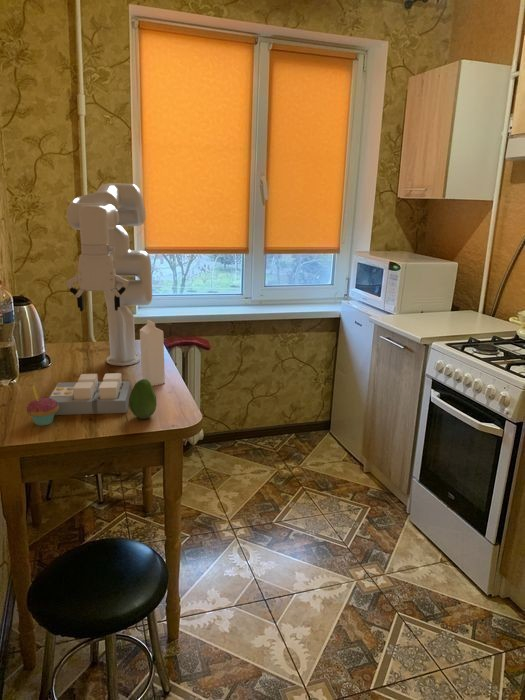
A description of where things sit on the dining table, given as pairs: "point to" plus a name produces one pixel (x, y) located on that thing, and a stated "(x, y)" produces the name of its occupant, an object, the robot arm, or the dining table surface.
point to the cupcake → (42, 409)
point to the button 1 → (89, 379)
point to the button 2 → (83, 391)
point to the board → (94, 406)
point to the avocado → (142, 399)
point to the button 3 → (113, 378)
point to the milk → (152, 354)
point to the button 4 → (109, 390)
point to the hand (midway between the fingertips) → (99, 309)
